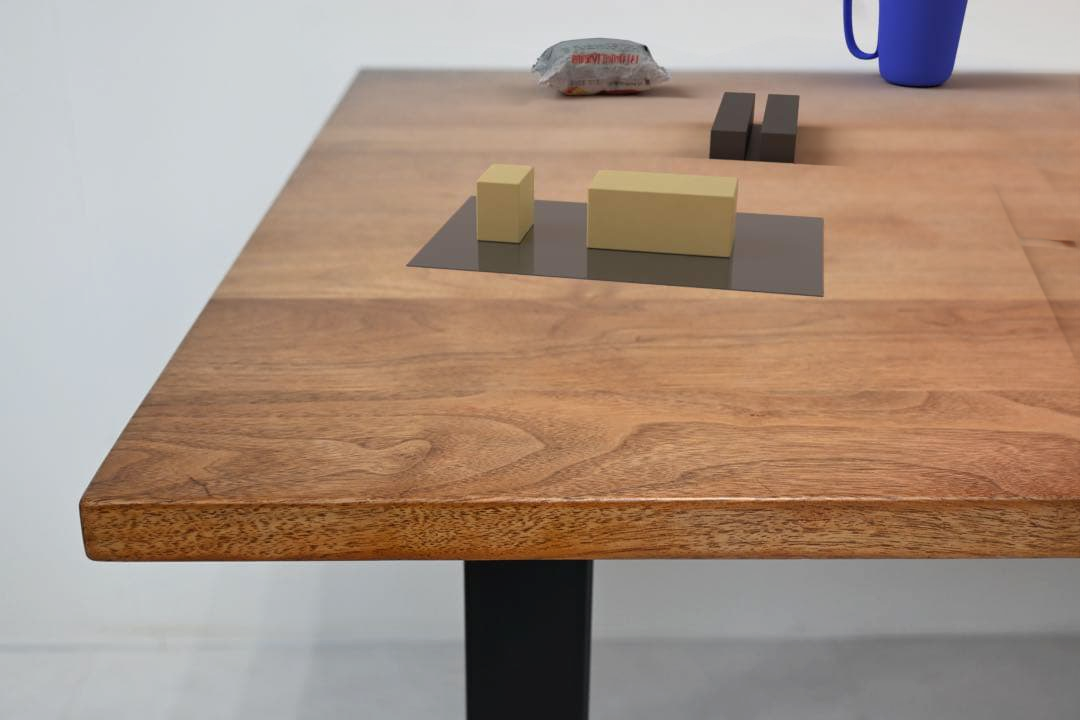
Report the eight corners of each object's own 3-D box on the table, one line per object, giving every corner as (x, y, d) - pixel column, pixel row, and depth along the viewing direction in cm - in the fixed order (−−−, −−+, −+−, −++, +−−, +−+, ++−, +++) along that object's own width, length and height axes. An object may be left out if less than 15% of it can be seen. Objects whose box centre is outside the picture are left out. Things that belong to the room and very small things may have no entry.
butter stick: (734, 236, 72) (738, 177, 71) (730, 258, 69) (734, 196, 67) (597, 227, 74) (599, 169, 72) (586, 248, 70) (587, 187, 69)
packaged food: (670, 103, 112) (672, 46, 110) (537, 105, 111) (538, 48, 109) (653, 85, 120) (655, 32, 118) (529, 87, 119) (529, 34, 117)
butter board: (821, 236, 76) (823, 217, 76) (821, 318, 64) (823, 296, 63) (471, 213, 80) (470, 195, 80) (406, 286, 68) (405, 265, 67)
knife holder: (796, 132, 102) (799, 95, 101) (792, 175, 89) (796, 134, 88) (722, 128, 103) (724, 91, 102) (708, 171, 90) (710, 129, 89)
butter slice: (534, 223, 74) (534, 165, 73) (519, 243, 71) (519, 183, 70) (493, 220, 75) (492, 163, 74) (476, 240, 71) (475, 180, 70)
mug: (852, 67, 129) (862, -35, 125) (969, 80, 123) (984, -27, 119) (819, 79, 123) (829, -27, 119) (941, 93, 116) (955, -18, 113)
